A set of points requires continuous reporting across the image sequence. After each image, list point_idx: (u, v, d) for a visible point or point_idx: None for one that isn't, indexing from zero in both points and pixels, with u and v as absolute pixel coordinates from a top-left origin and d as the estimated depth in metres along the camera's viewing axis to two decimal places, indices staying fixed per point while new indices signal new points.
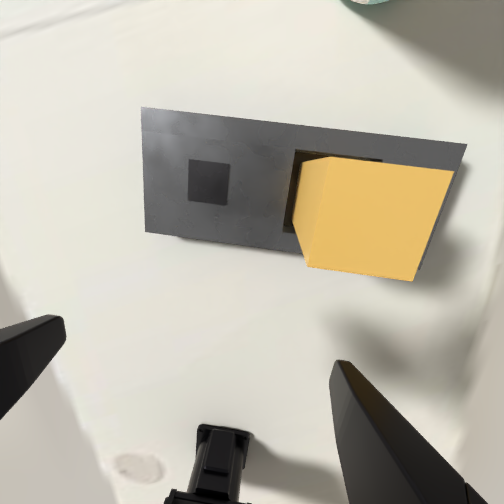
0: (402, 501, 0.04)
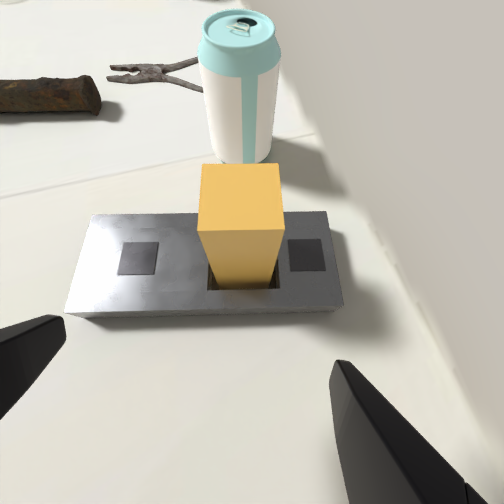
0: (402, 501, 0.04)
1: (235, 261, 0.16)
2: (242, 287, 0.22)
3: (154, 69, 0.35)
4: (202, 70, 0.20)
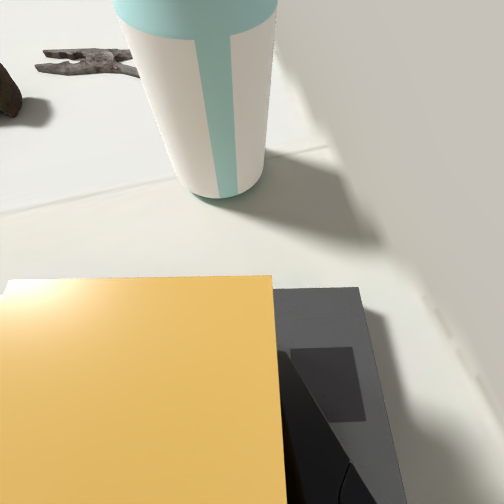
0: (287, 480, 0.04)
1: None
2: None
3: (104, 55, 0.26)
4: (123, 31, 0.10)
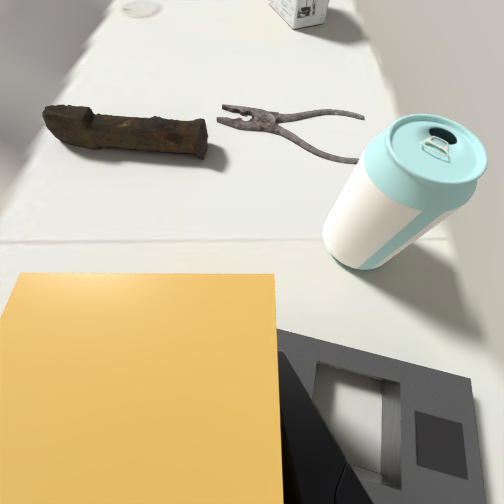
0: (284, 480, 0.04)
1: None
2: None
3: (268, 117, 0.32)
4: (365, 182, 0.16)
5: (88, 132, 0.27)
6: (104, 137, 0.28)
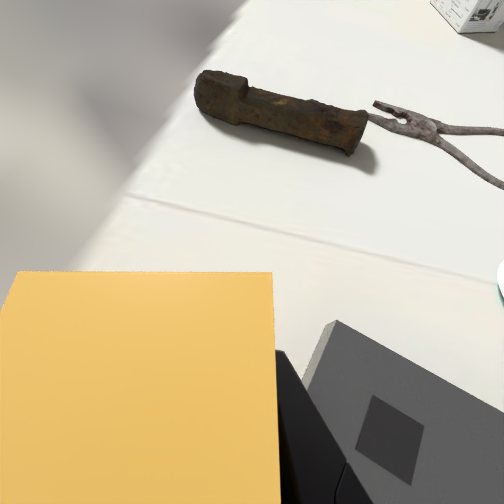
0: (284, 480, 0.04)
1: None
2: None
3: (428, 124, 0.28)
4: None
5: (239, 104, 0.25)
6: (252, 113, 0.26)
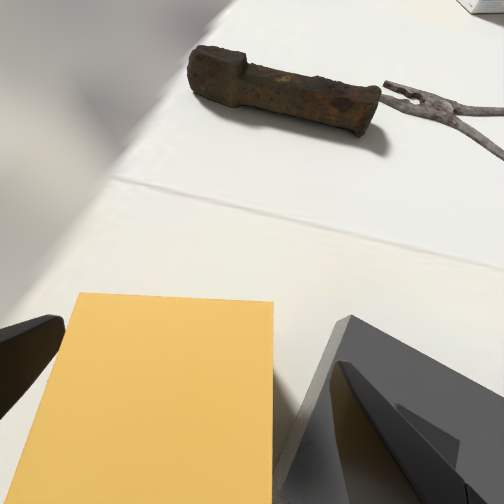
0: (402, 501, 0.04)
1: None
2: None
3: (443, 105, 0.25)
4: None
5: (237, 82, 0.23)
6: (252, 92, 0.23)
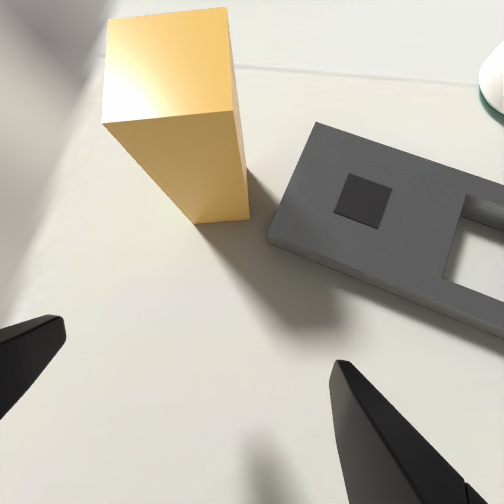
0: (402, 501, 0.04)
1: (189, 180, 0.12)
2: (218, 219, 0.18)
3: None
4: None
5: None
6: None
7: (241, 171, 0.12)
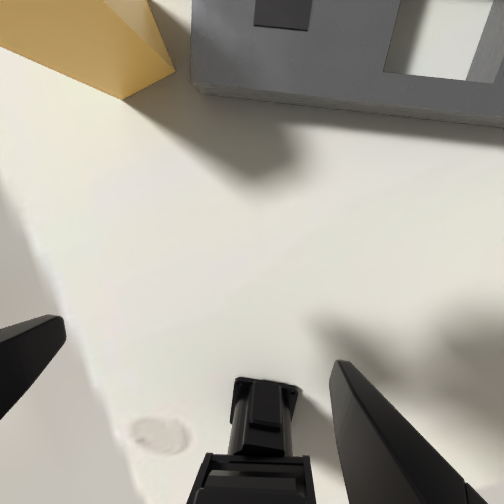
0: (402, 501, 0.04)
1: (64, 43, 0.11)
2: (142, 84, 0.17)
3: None
4: None
5: None
6: None
7: (108, 7, 0.10)
